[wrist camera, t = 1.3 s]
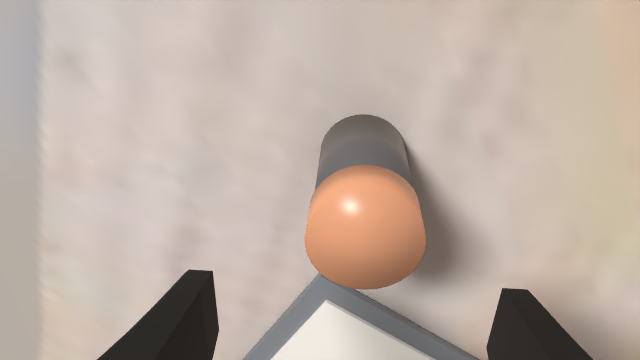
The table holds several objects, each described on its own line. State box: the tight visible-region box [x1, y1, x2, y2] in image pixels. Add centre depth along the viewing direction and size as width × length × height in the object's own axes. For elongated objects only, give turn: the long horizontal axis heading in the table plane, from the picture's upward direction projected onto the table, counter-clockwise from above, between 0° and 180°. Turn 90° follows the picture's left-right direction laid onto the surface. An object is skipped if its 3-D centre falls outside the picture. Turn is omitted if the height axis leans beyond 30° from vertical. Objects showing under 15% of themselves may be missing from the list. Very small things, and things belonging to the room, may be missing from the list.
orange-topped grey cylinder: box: [305, 115, 426, 289], centre depth 17 cm, size 4×4×6 cm
